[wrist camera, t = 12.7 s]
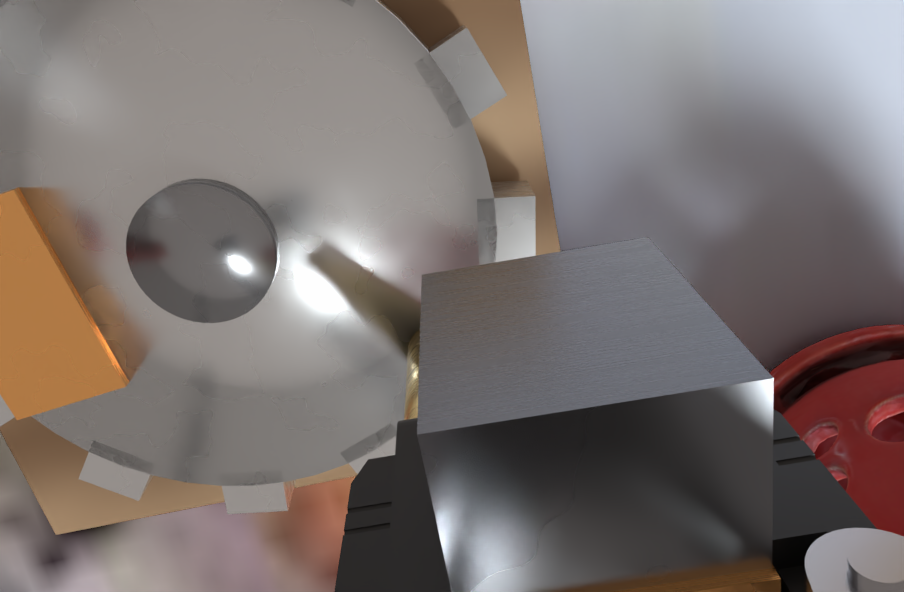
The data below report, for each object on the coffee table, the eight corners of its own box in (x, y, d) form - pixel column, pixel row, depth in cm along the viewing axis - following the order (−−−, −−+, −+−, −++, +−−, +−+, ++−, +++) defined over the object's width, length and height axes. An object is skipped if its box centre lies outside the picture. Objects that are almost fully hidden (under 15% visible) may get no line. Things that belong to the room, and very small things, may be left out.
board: (586, 422, 29) (590, 433, 28) (62, 524, 30) (53, 538, 29) (480, -226, 21) (482, -234, 20) (-241, -50, 22) (-265, -51, 21)
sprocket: (643, 93, 23) (744, 139, 16) (372, 548, 30) (354, 731, 22) (-8, -274, 19) (-285, -445, 12) (-152, 351, 26) (-386, 495, 18)
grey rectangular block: (670, 565, 12) (778, 821, 9) (483, 593, 13) (507, 857, 9) (649, 237, 10) (783, 386, 6) (420, 275, 10) (414, 444, 6)
